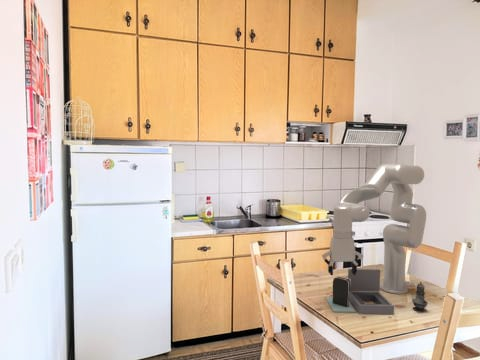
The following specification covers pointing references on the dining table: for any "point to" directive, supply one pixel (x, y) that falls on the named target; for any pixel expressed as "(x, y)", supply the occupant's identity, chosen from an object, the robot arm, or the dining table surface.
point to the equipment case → (368, 292)
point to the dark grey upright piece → (420, 299)
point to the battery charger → (341, 291)
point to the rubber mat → (340, 307)
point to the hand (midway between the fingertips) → (342, 274)
